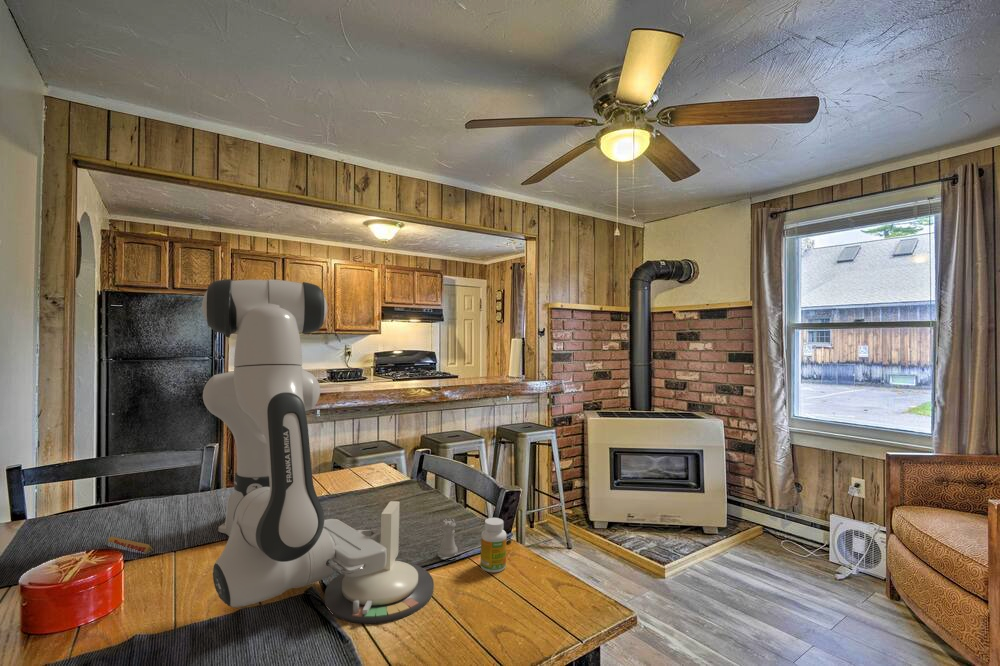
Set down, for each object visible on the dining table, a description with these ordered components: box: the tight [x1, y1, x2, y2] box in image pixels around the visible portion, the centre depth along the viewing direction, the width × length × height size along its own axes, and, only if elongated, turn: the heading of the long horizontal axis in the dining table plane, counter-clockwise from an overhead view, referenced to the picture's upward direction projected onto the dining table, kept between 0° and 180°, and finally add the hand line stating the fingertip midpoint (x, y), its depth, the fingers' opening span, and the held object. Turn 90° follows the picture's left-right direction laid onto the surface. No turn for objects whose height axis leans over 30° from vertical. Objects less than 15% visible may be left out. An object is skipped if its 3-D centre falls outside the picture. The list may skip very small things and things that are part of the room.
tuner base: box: [323, 561, 435, 625], centre depth 89 cm, size 20×20×3 cm
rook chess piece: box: [437, 518, 459, 557], centre depth 104 cm, size 4×4×8 cm
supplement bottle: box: [480, 517, 508, 573], centre depth 100 cm, size 5×5×10 cm
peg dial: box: [342, 500, 418, 614], centre depth 89 cm, size 20×14×12 cm
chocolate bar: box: [107, 536, 154, 553], centre depth 104 cm, size 3×12×2 cm, turn 73°
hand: (380, 534), depth 97 cm, fingers closed
